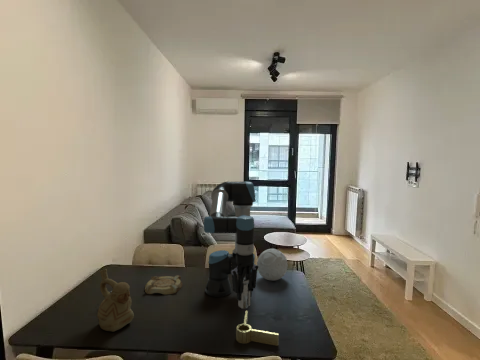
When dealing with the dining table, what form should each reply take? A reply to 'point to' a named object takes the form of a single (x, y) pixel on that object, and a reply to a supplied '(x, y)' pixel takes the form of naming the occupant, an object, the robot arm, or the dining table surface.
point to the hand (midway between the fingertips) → (244, 305)
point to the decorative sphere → (272, 264)
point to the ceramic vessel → (114, 304)
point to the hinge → (254, 334)
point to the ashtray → (163, 285)
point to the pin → (245, 293)
